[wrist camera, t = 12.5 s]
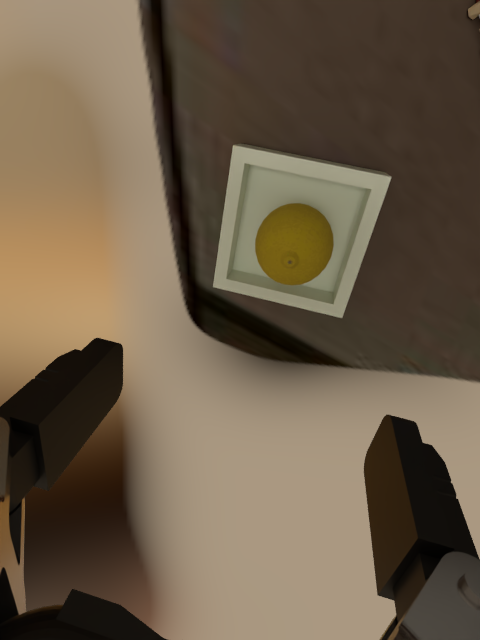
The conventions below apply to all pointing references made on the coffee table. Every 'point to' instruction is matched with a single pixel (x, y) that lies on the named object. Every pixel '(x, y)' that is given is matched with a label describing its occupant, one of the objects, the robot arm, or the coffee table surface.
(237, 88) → the coffee table surface
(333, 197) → the tray
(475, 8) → the woven mat
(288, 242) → the lemon
